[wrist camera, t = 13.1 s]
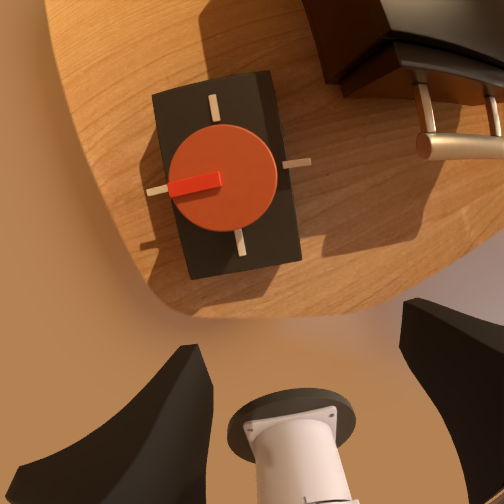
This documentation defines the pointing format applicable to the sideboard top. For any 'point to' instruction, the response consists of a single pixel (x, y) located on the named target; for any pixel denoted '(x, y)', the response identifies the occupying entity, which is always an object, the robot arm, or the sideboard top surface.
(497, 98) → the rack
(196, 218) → the timer knob
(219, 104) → the timer panel
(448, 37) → the black box
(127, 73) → the sideboard top surface
